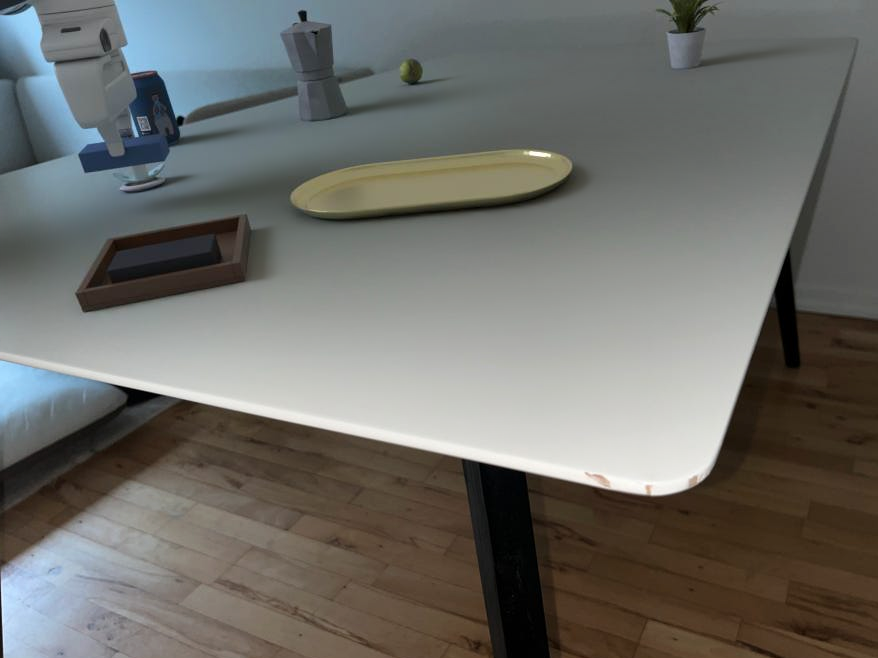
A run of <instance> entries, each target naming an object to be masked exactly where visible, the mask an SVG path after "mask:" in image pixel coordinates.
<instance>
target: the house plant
mask: <svg viewBox="0 0 878 658" xmlns="http://www.w3.org/2000/svg"><path fill="white" fill-rule="evenodd" d="M668 1H669V2H670V5H671V7H672V8H673V10H674V11H672V12H673V13H670V11H668V10H666V9H664V8H656V9H654V10H653V11H652V12H653V13H654V12H657V13H662V14H665V15H667V16H669V17H670V19H669V22H668V23H669V24H668V25H670V24H671V23H672V22H674V24H675V26H676V28H673V29H669V30H668V31H666V38H667V44H668V51H669V58H670V64H671V68H672V69H677V70H682V69H683V70H685V69H694V68H697V67H699V66H700V65H701V60H702V59H701V58H702V55H703V50H704V49H703V48H704V44H705V38H706V33H707V28H705V27H699V26H698V24H699V23H700V22H701V20H702V19H703V18H704V17H705V16H706V15H707V13H710V14H712V16H713V17H714V18H716V16H715V12H714V11H718V12H720V11H721V12H722V10H720V9H719V8H718V7H717V5H718V4H722V3H724V1H720V2H717V3H715V4H713V5H712V6H711V5H705V6H703V7H702V5H703V4H704V3H706V2H708V1H709V0H668Z"/></svg>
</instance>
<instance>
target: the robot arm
mask: <svg viewBox="0 0 878 658" xmlns="http://www.w3.org/2000/svg"><path fill="white" fill-rule="evenodd" d="M32 7H33V9H34V11H35V13H36V16H37V19H38V22H39V24H40V30H41V33H42V34H41V39H40V42H39V47H40V50H41V54H42V56H43V58H44V60H45V62H46V63H48V64H50V63H52V64H53V70H54V76H55V78H56V80H57V84H58V85H59V88H60V91H61V92H62V95H63V97H64V99H65V102H66V104H67V106H68V108H69V111H70V113H71V115H72V117H73V118H74V121H75V122H76V123H77V125H78V126H79V128H81V129H83V130H88V129H96V130H97V132H98V134H99V135H100V137H101V138H102V140H103V142H105V143H106V145H107V147H108V150H109V153H110V155H111V156H113V157H116V156H122V155H124V154H125V152H126V147H125V144H124V141H123V139H127V138H134V137H136V135H135V133H134V128H133V124H132V115H131V112H130V109H129V105H130V104H131V103H132V102H133V101H134V100H135V99H136V97H137V94H136V88H135V85H134V82H133V79H132V76H131V74H132V73H131V71H130V67H129V65H128V62H127V59H126V57H125V54H124V52H123V50H122V48H124V47H127V46H128V44H129V43H128V40H127V35H126V33H125V28H124V27H123V24H122V20H121V17H120V14H119V10H118V7H117V4H116V1H115V0H0V16H15V15H18V14H21V13H24V12H26V11H27V10H29V9H30V8H32Z"/></svg>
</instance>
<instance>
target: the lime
mask: <svg viewBox="0 0 878 658" xmlns="http://www.w3.org/2000/svg"><path fill="white" fill-rule="evenodd" d="M423 71H424V69H423V65H422V64H421V62H420V61H419V60H417V59H415V58H408V59H406V60H404V61H403V62H402V63H401V65H400V66H399V68H398V76H399V78H400V80H401V81H402V82H403V83H405V84H409V85H414V84H417V83H418V82H419V81H420V80H421V79H422V77H423V73H424V72H423Z"/></svg>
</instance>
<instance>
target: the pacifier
mask: <svg viewBox="0 0 878 658" xmlns="http://www.w3.org/2000/svg"><path fill="white" fill-rule="evenodd" d="M165 166H166V164H165V163H164V162H163V163H161V164H159V165H158V166H156V167H155V168H153V169H150V171H148V169H147V164H143V165H136V166H130V167H129V169H130V171H131V173H121V172H114V173H112V177H113V178H114V179H115V180H117V181H119V182H123V183H124V184H122V185H121V186H119V188H118V189H119V190H120V191H122V192H134V191H140V190H146V189H150V188H153V187H156V186H159V185H161V184H163V183H164V182H165V181H166V178H164V177H162V176H158V175H159V174H161V172H162V171H163V170H164V168H165Z"/></svg>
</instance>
